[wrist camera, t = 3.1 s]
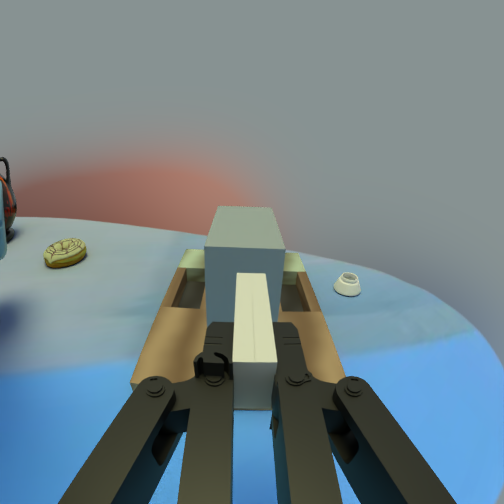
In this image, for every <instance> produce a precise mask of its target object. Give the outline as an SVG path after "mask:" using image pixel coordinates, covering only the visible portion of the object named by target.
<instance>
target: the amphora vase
mask: <svg viewBox="0 0 504 504" xmlns="http://www.w3.org/2000/svg"><path fill="white" fill-rule="evenodd" d="M0 161H3V162H4V163H5V166H6V170H7V171H6V175H7V178H6V179H5V178H4V177H3V176H2V175H1V174H0V181H1V183H2V191H3V208H4V221H5V232H6V243H7V242H8V241H9V240H10V239H11V238H12V237H13V235H14V230H13V229H12V228H10V227H11V226H12V224H13V221H14V219H15V216H16V211H17V206H16V199H15V195H14V192H13V190H12V187H11V181H10V170H9V164H8V161H7V159H6V158H4V157H1V158H0Z"/></svg>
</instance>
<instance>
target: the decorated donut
mask: <svg viewBox="0 0 504 504" xmlns="http://www.w3.org/2000/svg"><path fill="white" fill-rule="evenodd" d="M85 253H86V246H85V243H84V242H83V241H82V240H80V239H76V238H70V239H64V240H61V241H58V242H56V243H54V244H52V245H50V246H49V247H48V248H47V249H46V250H45V252H44V254H43V256H44V259H45V263H46V265H47V266H49V267H52V268H61V267H67V266H69V265H73V264H75V263H77V262H79V261H80V260H81V259H83V257H84V256H85Z"/></svg>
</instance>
